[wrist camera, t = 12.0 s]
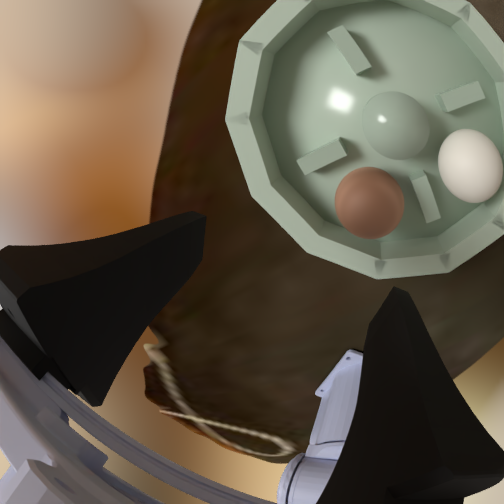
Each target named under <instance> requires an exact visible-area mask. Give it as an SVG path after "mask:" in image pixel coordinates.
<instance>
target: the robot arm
mask: <svg viewBox="0 0 504 504" xmlns="http://www.w3.org/2000/svg"><path fill="white" fill-rule="evenodd" d="M205 225H206V216H205V215H202V214H199V213H196V212H193V211H191V212H186V213H183V214H179V215H176V216H173V217H169V218H166V219H163V220H160V221H157V222H154V223H151V224H148V225H144V226H141V227H138V228H134V229H131V230H128V231H124V232H121V233H117V234H113V235H109V236H105V237H100V238H95V239H90V240H85V241H78V242H71V243H65V244H54V245H39V246H11V245H8V246H6V247H4V248H3V249H1V250H0V304H1V306H2V308H3V309H2V310H0V449H1V451H2V452H3V454H4V455H5V457H6V458H7V460H8V461H9V463H10V464H11V466H10V467H9V469H8V470H7V472H6V473H5V474H4V475H3V477H2V478H1V480H0V504H165V503H163V502H161V501H159V500H157V499H155V498H153V497H151V496H149V495H148V494H146V493H144V492H142V491H140V490H139V489H137V488H135V487H133V486H132V485H130V484H129V483H127V482H125V481H124V480H122V479H121V478H119V477H117V476H116V475H114V474H113V473H111V472H110V471H108V470H107V469H105V468H104V467H103V465H104V464H105V462H106V461H107V460H108V457H107V455H105V454H104V453H103V452H101V451H100V450H99V449H97V448H96V447H94V446H93V445H92V444H91V443H90V442H88V441H87V440H86V439H84V438H83V437H82V436H81V435H79V434H78V433H77V432H76V431H75V430H74V429H72V428H71V427H70V426H69V422H68V421H69V418H68V416H69V417H70V418H71V419H73V420H74V421H75V422H76V423H77V424H79V425H80V426H81V427H82V428H84V429H85V430H86V431H87V432H88V433H90V434H91V435H92V436H94V437H95V438H96V439H98V440H99V441H100V442H102V443H103V444H104V445H106V446H107V447H108V448H110V449H111V450H113V451H114V452H116V453H117V454H119V455H120V456H122V457H123V458H125V459H126V460H128V461H129V462H131V463H133V464H134V465H136V466H137V467H139V468H140V469H142V470H144V471H146V472H148V473H149V474H151V475H152V476H154V477H156V478H158V479H160V480H161V481H163V482H165V483H167V484H169V485H171V486H173V487H175V488H177V489H179V490H181V491H183V492H185V493H187V494H189V495H192V496H194V497H196V498H198V499H200V500H203V501H205V502H208V503H210V504H463V502H464V497H467V496H470V495H473V494H475V493H478V492H481V491H483V490H485V489H487V488H490V487H492V486H494V485H496V484H497V483H499V482H500V481H501V480H502V479H503V478H504V451H503V449H502V448H501V447H500V446H499V445H498V444H497V442H496V441H495V440H494V439H493V438H492V437H491V436H490V435H489V433H488V432H487V431H486V429H485V428H484V427H483V425H482V424H481V423H480V421H479V420H478V419H477V417H476V416H475V415H474V413H473V412H472V410H471V409H470V407H469V406H468V404H467V403H466V401H465V399H464V398H463V396H462V395H461V393H460V392H459V390H458V388H457V387H456V385H455V383H454V382H453V380H452V378H451V376H450V374H449V373H448V371H447V369H446V367H445V365H444V364H443V362H442V360H441V358H440V356H439V354H438V352H437V350H436V348H435V346H434V344H433V342H432V339H431V337H430V335H429V333H428V331H427V329H426V327H425V325H424V323H423V320H422V318H421V316H420V314H419V312H418V310H417V308H416V306H415V304H414V302H413V300H412V298H411V296H410V295H409V293H408V292H406V291H404V290H401V289H399V288H396V287H393V288H392V290H391V292H390V293H389V295H388V296H387V298H386V300H385V301H384V303H383V304H382V306H381V307H380V309H379V310H378V312H377V313H376V315H375V316H374V318H373V319H372V321H371V322H370V324H369V327H368V332H367V336H366V340H365V345H364V351H363V353H360V352H358V351H355V350H348V351H347V352H346V353H345V355H344V356H343V357H342V359H341V360H340V361H339V363H338V364H337V365H336V366H335V368H334V369H333V370H332V372H331V373H330V374H329V375H328V377H327V378H326V379H325V380H324V382H323V383H322V384H321V385H320V386H319V388H318V389H317V390H316V392H315V394H316V395H317V396H320V397H322V400H321V403H320V407H319V410H318V414H317V417H316V420H315V424H314V427H313V430H312V433H311V437H310V445H308V448H307V451H306V454H305V453H300V454H298V455H297V456H296V457H295V458H293V459H292V460H291V461H290V462H289V463H288V465H287V466H286V468H285V470H284V472H283V474H282V477H281V479H280V482H279V486H278V491H277V503H274V502H270V501H267V500H263V499H260V498H257V497H254V496H251V495H248V494H245V493H243V492H240V491H237V490H234V489H232V488H229V487H226V486H224V485H221V484H219V483H217V482H214V481H212V480H209V479H207V478H205V477H203V476H201V475H198V474H196V473H194V472H192V471H190V470H188V469H186V468H184V467H182V466H180V465H178V464H176V463H174V462H172V461H170V460H168V459H166V458H164V457H163V456H161V455H159V454H157V453H156V452H154V451H152V450H150V449H149V448H147V447H146V446H144V445H142V444H140V443H139V442H137V441H136V440H134V439H133V438H131V437H130V436H128V435H126V434H125V433H123V432H122V431H120V430H119V429H118V428H116V427H115V426H113V425H112V424H110V423H109V422H107V421H106V420H105V419H103V418H102V417H101V416H99V415H98V414H97V413H95V412H94V411H93V410H92V409H90V408H89V407H88V406H86V405H85V404H84V403H83V402H82V401H80V400H79V399H78V398H77V397H75V396H74V395H73V394H72V393H71V392H70V391H68V389H70V390H71V391H72V392H73V393H74V394H76V395H78V396H80V397H81V398H82V399H83V400H85V401H86V402H87V403H88V404H90V405H91V406H93V407H95V406H101V405H102V403H103V401H104V399H105V397H106V395H107V393H108V391H109V389H110V387H111V385H112V383H113V381H114V379H115V377H116V375H117V374H118V372H119V370H120V368H121V366H122V365H123V363H124V361H125V360H126V358H127V356H128V355H129V353H130V352H131V350H132V349H133V347H134V345H135V343H136V342H137V341H138V339H139V338H140V336H141V335H142V333H143V332H144V330H145V329H146V327H147V326H148V325H149V324H150V322H151V321H152V320H153V319H154V317H155V316H156V315H157V314H158V313H159V312H160V311H161V310H162V308H163V307H164V306H165V305H166V304H167V303H168V302H169V301H170V300H171V298H172V297H173V296H174V295H175V294H176V293H177V292H178V291H179V290H180V288H181V287H182V286H183V285H184V284H185V283H186V282H187V281H188V279H189V278H190V277H191V275H192V274H193V273H194V271H195V270H196V268H197V267H198V265H199V264H200V262H201V261H202V257H203V246H204V235H205ZM67 415H68V416H67Z"/></svg>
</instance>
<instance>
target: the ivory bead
mask: <svg viewBox="0 0 504 504" xmlns="http://www.w3.org/2000/svg"><path fill="white" fill-rule="evenodd" d="M438 167H439V172H440V175H441V178H442V180H443V182H444V184H445V186H446V187H447V188H448V190H449V191H450V192H451V193H452V194H453V195H454V196H456V197H457V198H459V199H460V200H463V201H465V202H469V203H480V202H484V201H486V200H488V199H490V198H491V197H492V196H493V195H494V194H495V193H496V192H497V190H498V189H499V187H500V184H501V182H502V177H503V164H502V159H501V156H500V153H499V151H498V149H497V147H496V146H495V144H494V143H493V142H492V141H491V140H490V139H489V138H488V137H487V136H486V135H484V134H483V133H481V132H479V131H476V130H473V129H460V130H457V131H455V132H453V133H451V134H450V135H449V136H448V137H447V138H446V139H445V140H444V142H443V143H442V145H441V148H440V151H439V155H438Z"/></svg>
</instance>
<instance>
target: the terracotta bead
mask: <svg viewBox="0 0 504 504" xmlns="http://www.w3.org/2000/svg"><path fill="white" fill-rule="evenodd" d="M335 210H336V214H337V216H338V219H339V220H340V222H341V223H342V225H343V226H344V227H345V228H346V229H347V230H348V231H349V232H350V233H352V234H353V235H355V236H357V237H360V238H364V239H378V238H381V237H384V236H386V235H388V234H389V233H391V232H392V231H393V230H394V229H395V228H396V227H397V226H398V224H399V222H400V221H401V219H402V216H403V212H404V196H403V192H402V190H401V187H400V186H399V184H398V182H397V181H396V180H395V179H394V178H393V177H392V176H391V175H390V174H389V173H387V172H386V171H384V170H382V169H379V168H375V167H361V168H358V169H355V170H353V171H351V172H350V173H348V174H347V175H346V176H345V177H344V178H343V179H342V180H341V182H340V183H339V185H338V187H337V190H336V193H335Z"/></svg>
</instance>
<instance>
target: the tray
mask: <svg viewBox="0 0 504 504" xmlns="http://www.w3.org/2000/svg"><path fill="white" fill-rule="evenodd" d="M225 121H226V124H227V126H228V129H229V132H230V135H231V138H232V141H233V144H234V147H235V149H236V152H237V155H238V158H239V161H240V164H241V167H242V170H243V173H244V176H245V179H246V181H247V184H248V187H249V190H250V193H251V196H252V197H253V198H254V199H255V200H256V201H257V202H258V203H259V204H260V205H261V206H262V207H263V208H264V209H265V210H266V211H267V212H268V213H269V214H270V215H271V216H272V217H273V218H274V219H275V220H276V221H277V222H278V223H279V224H280V225H281V226H282V227H283V228H284V229H285V230H286V231H287V232H288V233H289V234H290V235H291V236H292V238H293V239H294V240H295V241H296V242H297V243H298V244H299V245H300V246H301V247H302V248H303V249H304V250H305V251H306V252H307V253H310V254H313V255H315V256H318V257H321V258H323V259H326V260H329V261H331V262H334V263H336V264H339V265H342V266H344V267H347V268H349V269H352V270H355V271H357V272H360V273H362V274H365V275H367V276H370V277H373V278H375V279H386V278H398V277H409V276H419V275H429V274H439V273H449V272H450V271H452V270H453V269H455V268H456V267H458V266H459V265H461V264H462V263H464V262H465V261H467V260H468V259H470V258H471V257H473V256H474V255H476V254H477V253H479V252H480V251H481V250H483V249H484V248H486V247H487V246H488V245H490V244H491V243H493V242H494V241H495V240H497V239H498V238H499V237H501V236H502V235H503V234H504V43H503V42H502V40H501V39H500V38H499V36H498V35H497V34H496V33H495V31H494V30H493V29H492V28H491V26H490V25H489V24H488V23H487V22H486V20H485V19H484V18H483V17H482V16H481V15H480V13H479V12H478V11H477V10H476V9H475V8H474V7H473V6H472V5H471V4H470V3H469V2H467V1H465V0H277V1H276V2H275V3H274V4H273V5H272V6H271V7H270V8H269V9H268V10H267V11H266V12H265V13H264V14H263V15H262V16H261V17H260V19H259V20H258V21H257V22H256V23H255V24H254V25H253V26H252V27H251V28H250V29H249V31H248V32H247V33H246V34H245V35H244V36H243V37H242V38H241V40H239V45H238V50H237V55H236V60H235V66H234V71H233V77H232V82H231V88H230V94H229V100H228V106H227V112H226V118H225ZM460 129H473V130H476V131H479V132H481V133H483V134H484V135H486V136H487V137H488V138H489V139H490V140H491V141H492V142H493V143H494V144H495V146H496V147H497V149H498V151H499V153H500V156H501V159H502V164H503V177H502V182H501V184H500V187H499V189H498V190H497V192H496V193H495V194H494V195H493V196H492V197H491V198H490V199H488V200H486V201H484V202H480V203H469V202H465V201H463V200H460V199H459V198H457V197H456V196H454V195H453V194H452V193H451V192H450V191H449V190H448V188H447V187H446V186H445V184H444V182H443V180H442V178H441V175H440V172H439V167H438V155H439V151H440V148H441V145H442V143H443V142H444V140H445V139H446V138H447V137H448V136H449V135H450V134H451V133H453V132H455V131H457V130H460ZM361 167H375V168H379V169H382V170H384V171H386V172H387V173H389V174H390V175H391V176H392V177H393V178H394V179H395V180H396V181H397V182H398V184H399V186H400V187H401V190H402V192H403V196H404V212H403V216H402V219H401V221H400V222H399V224H398V226H397V227H396V228H395V229H394V230H393V231H392V232H391V233H389V234H388V235H386V236H384V237H381V238H378V239H364V238H360V237H357V236H355V235H353V234H352V233H350V232H349V231H348V230H347V229H346V228H345V227H344V226H343V225H342V223H341V222H340V220H339V219H338V216H337V214H336V210H335V193H336V190H337V187H338V185H339V183H340V182H341V180H342V179H343V178H344V177H345V176H346V175H347V174H348V173H350V172H351V171H353V170H355V169H358V168H361Z"/></svg>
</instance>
